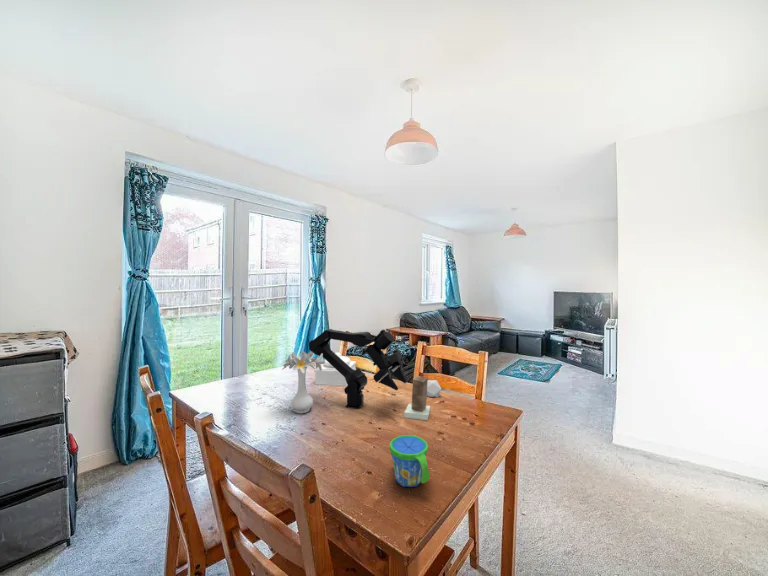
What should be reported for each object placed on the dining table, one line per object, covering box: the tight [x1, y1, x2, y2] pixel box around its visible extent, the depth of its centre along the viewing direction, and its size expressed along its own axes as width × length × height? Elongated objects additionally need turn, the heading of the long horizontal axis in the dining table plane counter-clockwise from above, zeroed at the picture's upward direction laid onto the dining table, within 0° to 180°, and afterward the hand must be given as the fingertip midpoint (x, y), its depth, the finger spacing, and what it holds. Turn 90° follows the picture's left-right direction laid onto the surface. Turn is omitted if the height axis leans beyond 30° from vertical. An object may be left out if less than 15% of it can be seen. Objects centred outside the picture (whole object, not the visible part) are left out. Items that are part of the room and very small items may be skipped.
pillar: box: [411, 375, 429, 412], centre depth 127 cm, size 4×4×12 cm
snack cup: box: [388, 434, 430, 488], centre depth 88 cm, size 16×10×10 cm
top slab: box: [403, 403, 431, 421], centre depth 128 cm, size 9×9×2 cm
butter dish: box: [314, 351, 357, 387], centre depth 175 cm, size 18×18×16 cm
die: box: [427, 379, 442, 398], centre depth 149 cm, size 8×9×10 cm
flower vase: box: [281, 350, 325, 414], centre depth 135 cm, size 13×18×25 cm
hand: (401, 386), depth 130 cm, fingers open, 9 cm apart
